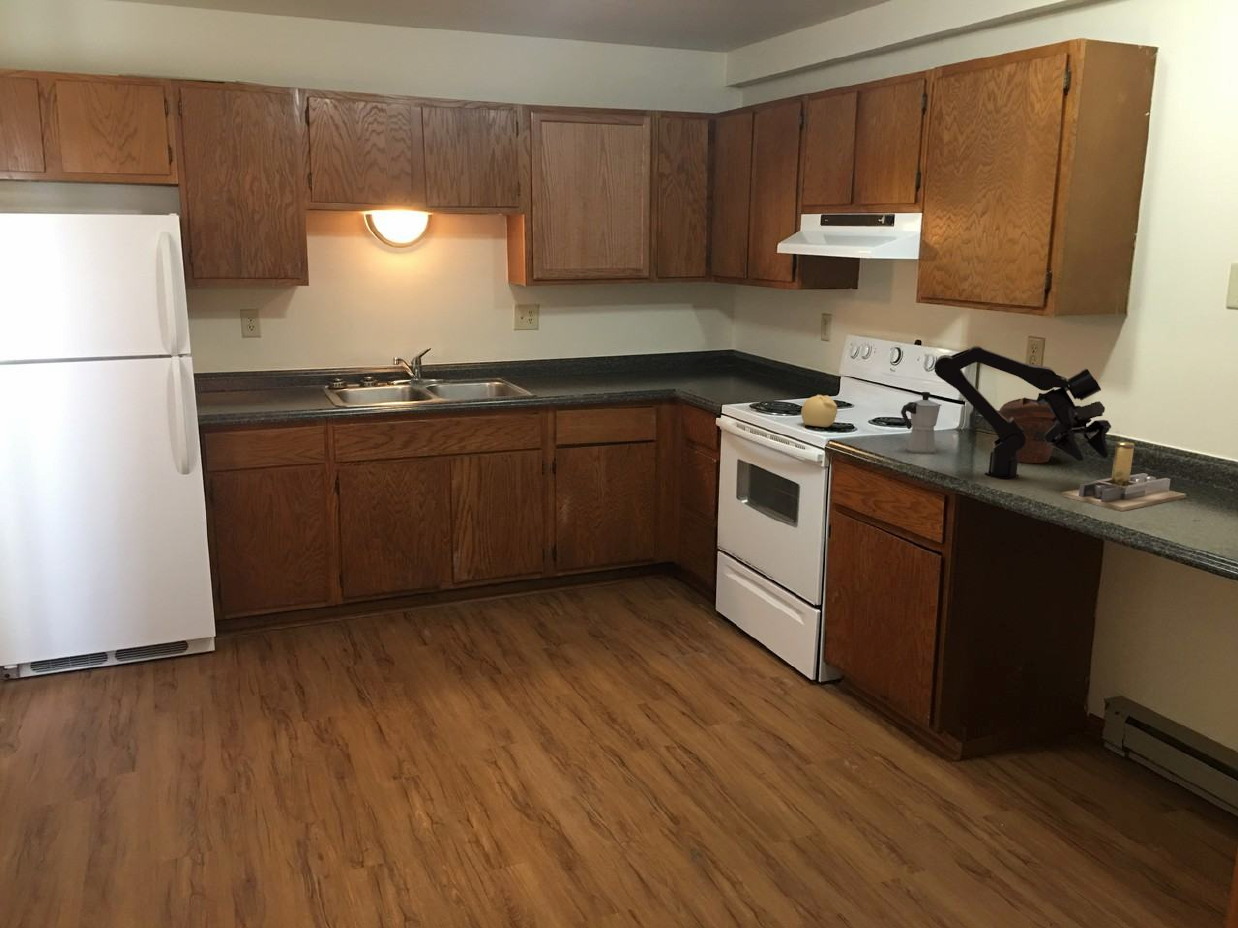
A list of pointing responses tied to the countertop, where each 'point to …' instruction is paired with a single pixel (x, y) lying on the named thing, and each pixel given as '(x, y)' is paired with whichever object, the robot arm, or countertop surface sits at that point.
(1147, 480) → the grey slotted tray
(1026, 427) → the reddish brown pot
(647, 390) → the countertop surface
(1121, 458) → the pin
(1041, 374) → the robot arm
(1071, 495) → the board
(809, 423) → the tan round lump
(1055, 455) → the countertop surface
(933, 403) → the coffee maker
